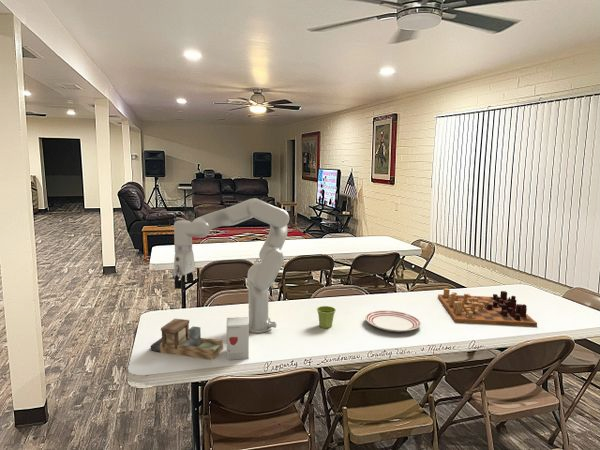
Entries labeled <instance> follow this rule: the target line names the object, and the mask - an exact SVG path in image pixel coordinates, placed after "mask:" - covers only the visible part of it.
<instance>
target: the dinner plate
mask: <svg viewBox="0 0 600 450" xmlns="http://www.w3.org/2000/svg"><path fill="white" fill-rule="evenodd" d="M365 321H366V322H367V323H368V324H369V325H371V326H373V327H374V328H377V329H380V330H384V331H386V332H390V333H391V332H392V333H393V332H394V333H401V332H403V333H404V332H409V331H413V330H416V329H419V328H420V327H421V326H422V322H421V320H420V319H419V318H418V317H416V316H414V315H411V314H409V313H406V312H402V311H399V310H398V311H396V310H388V309H387V310H385V309H384V310H381V309H380V310H374V311H370V312H368V313H366V314H365Z"/></svg>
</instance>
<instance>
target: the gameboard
mask: <svg viewBox="0 0 600 450" xmlns="http://www.w3.org/2000/svg"><path fill="white" fill-rule="evenodd" d="M450 291H451V290H450V288H443V294H437V297H438V300H439V301H440V302H441V304H442V305H443V307H444V308H445V310H446V311H447V313H448V314H449V316H450V317H451V318H452V320H453V321H454V323H456V324H457V323H459V324H481V325H497V326H499V325H500V326H518V327H538V322H537V321H536V320H534V319H533V318H532V317H531V316H530V315H528V314H527V309H528V308H527V304H524V303H523V304H521V303H519V304H518V303H517V299H516V297H517V296H516V295H511V297H510V296H509V297H508V292H507V291H506V290H501V291H500V294H499V295H500V296H499V295H498V294H496V293H493V294H492V296H483V295H482V296H480V295H471V294H470V293H463V295H460V294H457V292H456V291H452V293H451V292H450ZM450 293H451V294H450Z"/></svg>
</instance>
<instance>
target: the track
mask: <svg viewBox="0 0 600 450" xmlns="http://www.w3.org/2000/svg"><path fill="white" fill-rule="evenodd" d="M189 325H190V319H183V318H174V319H171V320H170V321H169V322H168V323H166V324H164V325H162V327H160V331H161V338H159V339H158V340H156V341H155V342H153V343H152V344H151V345H150V352H153V353H161V354H169V355H174V356H175V355H176V356H183V357H190V358H191V357H192V358H196V357H197V359H204V360H205V359H206V360H212V361H213V360H215V358H216V357H218V355H219V354H220V353H221V352H222V351H223V350H224V340H220V339H212V338H206V337H205V338H204V337H201V342H202V343H201V344H200V345H199V346H198V347H193V346H185V345H179V337H178V331H179V330H180V329H182V328H183V327H185V330H186V340H189V329H190V327H189ZM166 334H174V341H175V344H170V343H166Z"/></svg>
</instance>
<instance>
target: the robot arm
mask: <svg viewBox="0 0 600 450" xmlns="http://www.w3.org/2000/svg"><path fill="white" fill-rule="evenodd" d="M253 218H254V219H256V220H258V221H260V222H263V223H266V224H268V225H269V232H268V235H267V237H266V239H265V241H264V243H263V244H262V247H261V248H260V250H259V253H258V256H259V260H260V263H254V264H253V265H251V266H250V268H248V271H247V287H248V324H249V333H252V334H262V333H263V334H264V333H266V332H269V331H270V330H271V329H272V328H277V323H276V321H271V318H269V298H270V297H269V295H270V293H269V288H271V287H272V285H273V284H274V282H275V280H276V278H277V276H278V274H279V272H280V271H281V268H282V266H283V263H284V260H285V257H284V256H285V255H284V254H283V251H282V248H283V246H284V244H285V241H286V240H287V236H288V231H289V230H288V224H289V222H290V215H289V213H288V212H287V210H285V209H283V208H280V207H279V206H278V207H277V206H274V205H272V204H270V203H268V202H266V201H264V200H261V199H259V198H255V197H254V198H249V199H247V200H244V201H241V202H239V203H236V204H233V205H231V206H228V207H225V208H221V209H219V210H216V211H212V212H210V213H207V214H204V215H201V216H198V217H196V218H195V219H194V220H192V221H191V220H187V219H184V220H183V219H181V220H180V219H179V220H176V221H175V222H174V223H173V229H174V230H173V231H174V233H173V234H174V235H173V236H174V258H173V259H174V260H173V270H172V272H171V274H172V278H173V280H174V289H177V290H178V289H179V290H182V289H183V281H182V277H183V276H186V283H191V284H193V283H194V275H195V272H194V271H195V267H196V263H195V256H194V251H193V238H200V239H201V238H205V237H207V236H208V235H209V234H210V232H211V230H213V229H216V228H219V227H230V226H235V225H239V224H240V223H243V222H245V221H248V220H250V219H253Z"/></svg>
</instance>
